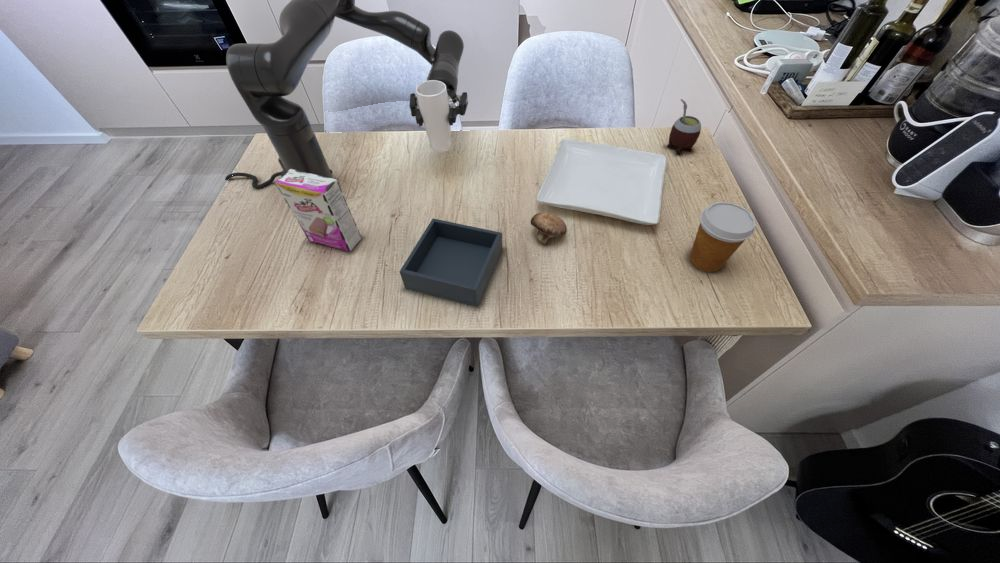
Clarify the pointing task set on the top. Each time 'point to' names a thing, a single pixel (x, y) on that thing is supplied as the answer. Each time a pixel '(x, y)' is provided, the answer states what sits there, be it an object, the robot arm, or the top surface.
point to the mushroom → (548, 226)
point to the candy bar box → (320, 209)
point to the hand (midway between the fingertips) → (435, 122)
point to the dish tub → (453, 261)
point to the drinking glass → (435, 114)
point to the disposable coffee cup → (720, 234)
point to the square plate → (605, 181)
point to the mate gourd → (684, 132)
